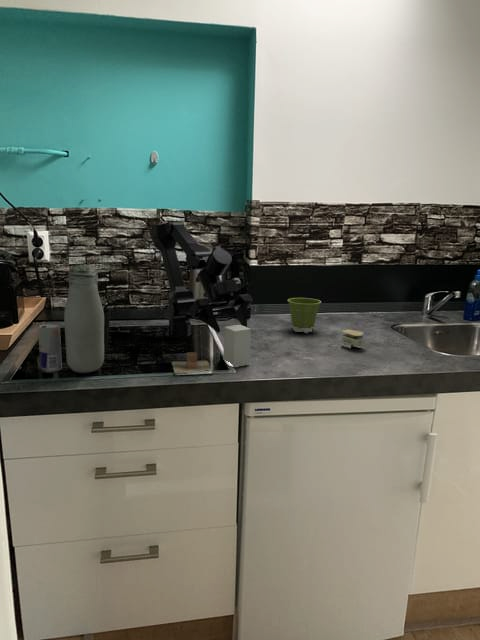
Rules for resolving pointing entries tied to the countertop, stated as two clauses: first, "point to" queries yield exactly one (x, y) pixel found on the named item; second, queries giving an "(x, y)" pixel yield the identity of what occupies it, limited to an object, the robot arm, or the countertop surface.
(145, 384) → the countertop surface
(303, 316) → the plant pot
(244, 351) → the tall pale rectangular prism
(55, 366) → the energy drink
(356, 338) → the stacked layers on plate
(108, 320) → the cup
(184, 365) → the beige board with block
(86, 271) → the glass bottle
